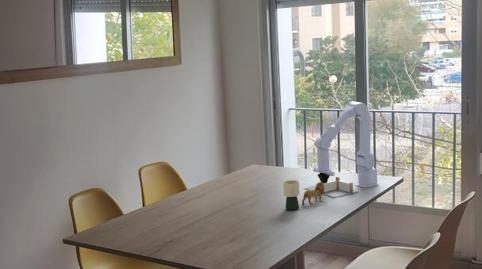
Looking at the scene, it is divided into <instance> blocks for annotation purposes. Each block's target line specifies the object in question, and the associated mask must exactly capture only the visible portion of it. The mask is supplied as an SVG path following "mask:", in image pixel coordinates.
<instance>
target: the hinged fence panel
mask: <svg viewBox="0 0 482 269" xmlns="http://www.w3.org/2000/svg"><path fill="white" fill-rule="evenodd" d="M323 184H324V192H325V191H329V190H332V189H336V188H337V182H336V180H332V181H327V183H323Z"/></svg>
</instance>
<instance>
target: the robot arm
mask: <svg viewBox="0 0 482 269" xmlns="http://www.w3.org/2000/svg"><path fill="white" fill-rule="evenodd" d="M368 107H369V106H368V105H366V104H365V103H363V102H358V101H357V102H356V101H355V100H354V101H352V100H351V101H350V102H348V103H347V105H345V107H344V109H343V111H342V112H341V114H340V115H339V116H338V117H337V120H335V122H334V123H333V124H331V125H329V126H327V127H326V128H325V129H326V130H325V131H324V132H323V134H321V135H320V136H319V137H317V139H316V140H315V143H314V146H315V148H316V153H317V166H315V167H313V172H316V173H318V174H317V177H318V179H319V182H322V183H327V182H329V181H328V180H329V179H330V177H336V176H335V171H333V170H331V169H330V152H329V150H330V148H331V145H332V144H331V143H332V142H333V141H334V139H335V138H336V137H337V136H338V135H339V133H340V132H339V129H340V128H341V127H342V126H343V125H344V124H345V123H346V122H347V121H348V120H349V119H350V118H354V117H356V118H357V119H359V148H358V149H359V150H358V151H357V152H356V157H355V159H354V161H355V165H356V166H357V179H358V180H357V181H358V182H357V183H354V186H356V187H360V188H364V189H366V188H371V187H376V186H379V183H378V172H377V169H376V168H375V167H374V166H375V164H376V163H375V159H374V154H373V153H372V151H371V132H372V131H371V129H372V128H371V124H372V122H371V121H372V116H371V113H370V111H369V108H368Z"/></svg>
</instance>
